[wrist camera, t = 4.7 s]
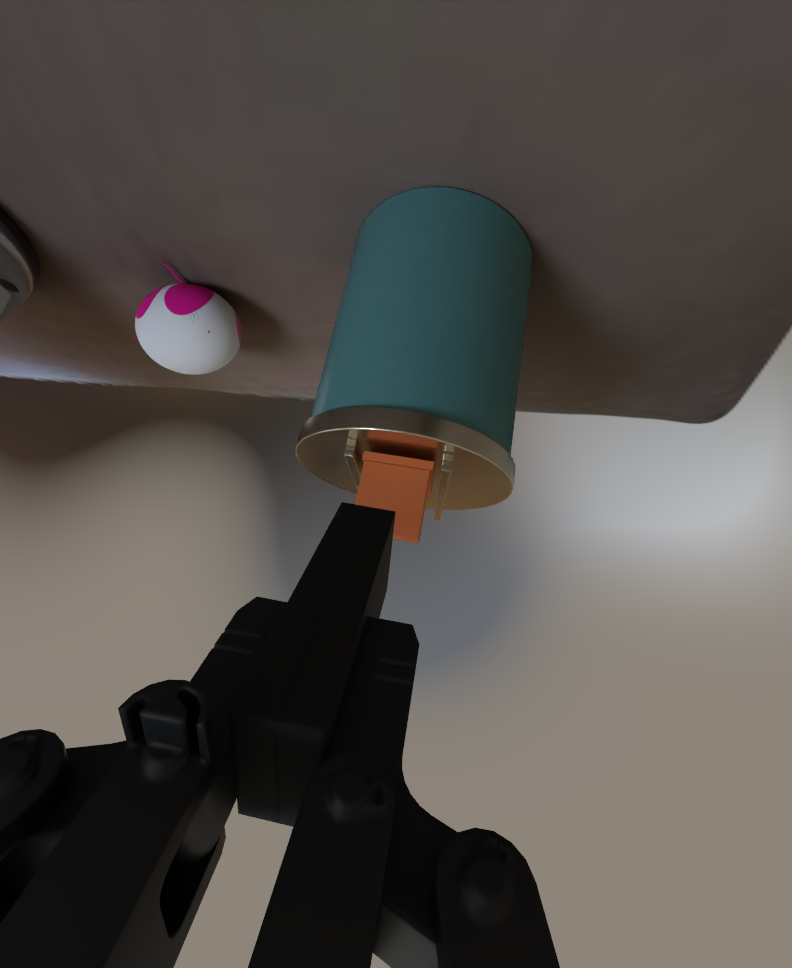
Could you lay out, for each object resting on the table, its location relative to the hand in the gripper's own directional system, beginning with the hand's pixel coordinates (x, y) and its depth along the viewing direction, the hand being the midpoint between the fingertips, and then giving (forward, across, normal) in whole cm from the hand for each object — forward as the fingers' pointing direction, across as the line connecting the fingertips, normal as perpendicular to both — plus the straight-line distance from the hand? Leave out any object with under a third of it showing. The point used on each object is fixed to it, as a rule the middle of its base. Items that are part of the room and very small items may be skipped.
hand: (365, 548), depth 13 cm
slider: (+8, 0, -1) cm, 8 cm away
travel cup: (+19, 0, +7) cm, 20 cm away
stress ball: (+23, -18, +3) cm, 29 cm away
